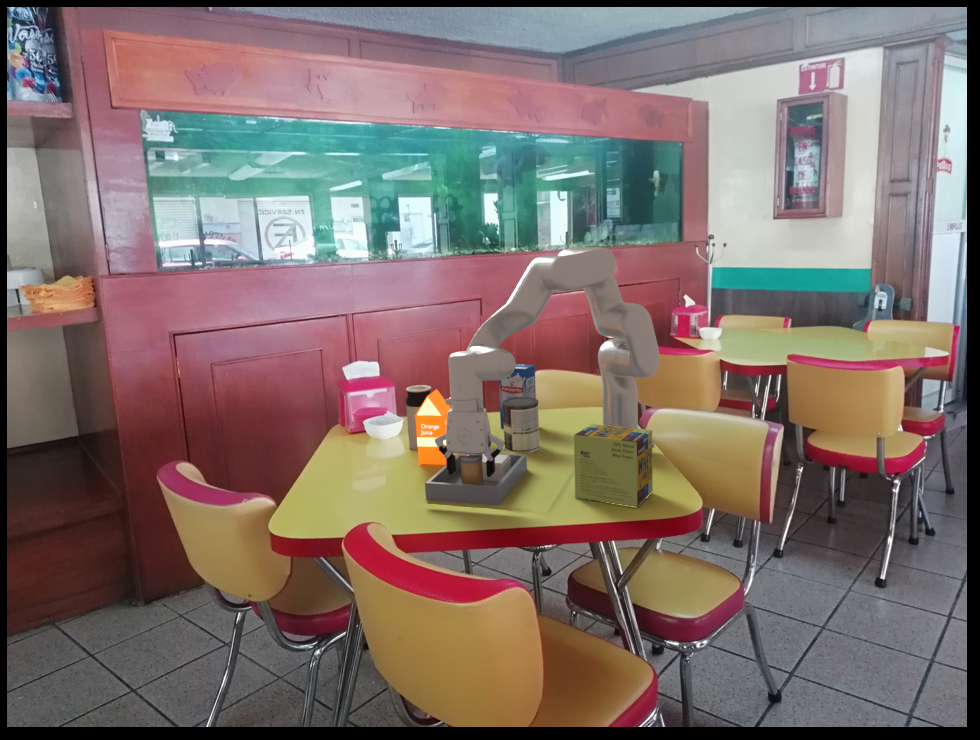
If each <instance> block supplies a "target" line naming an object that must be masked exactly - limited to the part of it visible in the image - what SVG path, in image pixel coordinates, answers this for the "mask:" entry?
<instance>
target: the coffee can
mask: <svg viewBox="0 0 980 740" xmlns="http://www.w3.org/2000/svg"><path fill="white" fill-rule="evenodd" d="M502 405H503V420H504V429H503V435H504V438H503V441H504V442H505V444H504V451H505V452H515V453H517V452H518V453H535V452H538V451H539V450H540V448H541V446H540V424H539V423H540V422H539V400H538V399H537V398H536V399H535V398H530V397H516V398H510V399H506V400H504V401H503V402H502Z"/></svg>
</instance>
